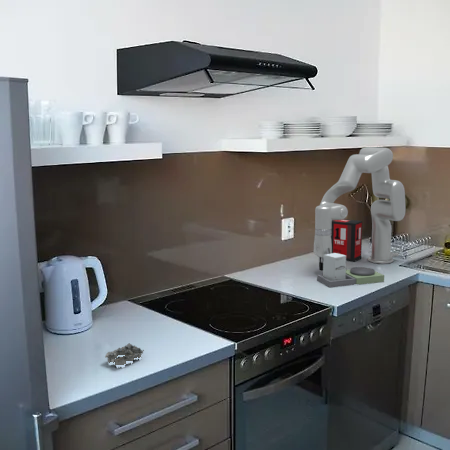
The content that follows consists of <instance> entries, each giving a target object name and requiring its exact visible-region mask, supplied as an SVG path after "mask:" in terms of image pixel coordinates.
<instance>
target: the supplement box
mask: <svg viewBox="0 0 450 450" xmlns="http://www.w3.org/2000/svg"><path fill="white" fill-rule="evenodd" d="M346 268H347V261H346V255H342V254H338V253H331V254H326V255H323V271H322V277H324V278H326V279H328V280H330V281H336V280H345V276H346V270H347V269H346Z"/></svg>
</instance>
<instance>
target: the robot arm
mask: <svg viewBox="0 0 450 450" xmlns="http://www.w3.org/2000/svg"><path fill="white" fill-rule="evenodd" d="M393 158H394V153H393V151H392V150H391V149H390V148H388V147H376V146H367V147H363V148H361V149H360V150H359V153H358V154H357V153H356V154H352V155H350V156H349V158H348V159H347V162H346V164H345V166H344V168H343V171H342V173H341V175H340V177H339V179H338V181H337V182H336V183H334V184H333V185H332V186H331V187H330V188H329V189H328V190H326V191H325V193H324V195H323V197H322V199H321V201H320V203H319V205H317V206H316V207H315V213H314V214H315V216H314V217H315V218H314V219H315V220H314V221H315V222H314V224H315V225H314V226H315V228H314V237H313V238H314V240H313V253H314V255H316V256H317V257H318V270H319V271H321V272H323V255H326V254H331V253H332V243H331V235H332V220H343V219H347V216H348V213H349V210H348V207H346V205H343V204H340V203H335V201H336V200H337V199H338V198H339V197H340V196H342V195H344V194H346V193H350V192H351V191H354V190H355V189H356V188H357V185H358V183H359V181H360V178H361V176H362V174H363V173H365V174H371V183H372V185H371V186H372V193H373V195H374V196H375V197H377V198H379V199H376V200H375V201H373V202H372V204H371V206H370V215H371V223H372V225H371V227H372V229H371V256H368V258H367V260H368V262H371V263H374V264H392V263H394V257H399V252H393V251H391V250H392V249H391V248H392V231H393V230H392V227H393V226H392V224H391V221H394V222H400V221H402V220H403V219H404V217H405V215H406V193H405V192H406V191H405V186H404V185H403V183H402V182H401V181H399V180H398V179H397V180H396V179H391V178H390V170H389V165H390V164H391V163H392V162H393Z"/></svg>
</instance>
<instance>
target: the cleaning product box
mask: <svg viewBox="0 0 450 450" xmlns="http://www.w3.org/2000/svg"><path fill="white" fill-rule="evenodd" d="M331 243H332V253H338V254H342V255H346V262H351V263H356V262H357V261H360V260H361V259H362V243H363V220H355V219H347V218H344V219H343V220H332V235H331Z"/></svg>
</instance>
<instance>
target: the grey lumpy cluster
mask: <svg viewBox="0 0 450 450" xmlns="http://www.w3.org/2000/svg"><path fill="white" fill-rule="evenodd" d="M144 352H145V350H144V349H141V347H137V346H136V345H133V344H131V343H130V342H129V343H128V344H125V345H124V346H121V347H118V348H117V349H114V350H112V351H108V352H107V353H106V354H105V356H104V357H105V358H106V359H107V363H108V362H109V363H110V362H113V363H114V362H115V365H124V364H126V361H133V360H134V358H137V357H138V358H140V357H141V355H142V354H144ZM118 355H125V356H123V357H119V358H117V356H118ZM115 358H117V359H115ZM141 358H142V357H141ZM115 365H114V366H115Z"/></svg>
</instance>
